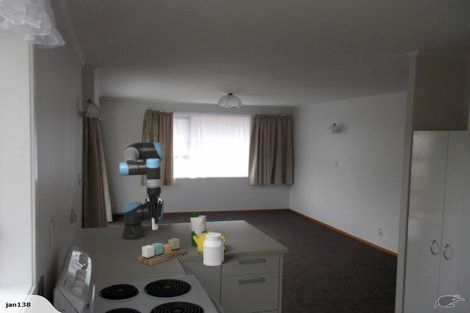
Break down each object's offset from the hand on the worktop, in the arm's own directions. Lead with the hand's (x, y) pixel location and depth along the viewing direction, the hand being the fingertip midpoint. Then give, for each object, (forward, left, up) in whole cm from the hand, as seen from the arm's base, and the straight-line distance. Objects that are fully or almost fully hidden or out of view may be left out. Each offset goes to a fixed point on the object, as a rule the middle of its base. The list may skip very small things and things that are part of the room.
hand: (155, 229), depth 203 cm
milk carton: (0, +33, -17) cm, 37 cm away
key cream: (0, -5, -14) cm, 14 cm away
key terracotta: (0, +7, -16) cm, 17 cm away
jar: (+29, +16, -17) cm, 37 cm away
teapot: (+14, +28, -17) cm, 36 cm away
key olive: (0, +13, -14) cm, 19 cm away
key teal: (0, +1, -14) cm, 14 cm away
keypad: (0, +4, -17) cm, 17 cm away
